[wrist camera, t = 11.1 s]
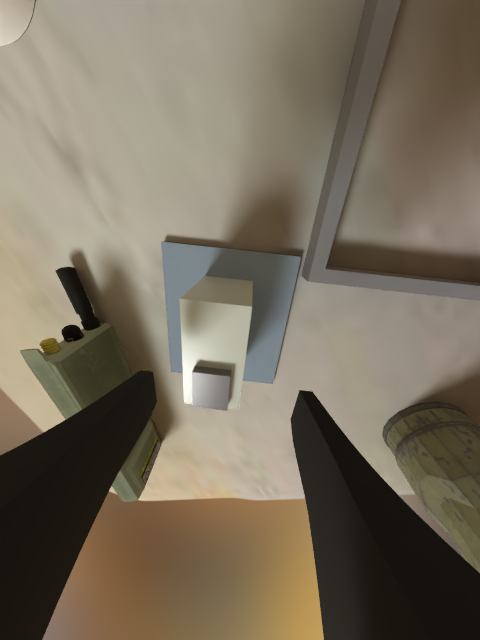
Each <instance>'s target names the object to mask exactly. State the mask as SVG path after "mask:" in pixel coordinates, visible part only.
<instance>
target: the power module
mask: <svg viewBox="0 0 480 640" xmlns="http://www.w3.org/2000/svg"><path fill="white" fill-rule="evenodd" d="M252 295H253V281H248V280H239V279H230V278H221V277H212V276H204V277H203V278H202V279H201V280H200V281H199V282H198V283H196V284H195V285H194V286H193V287H192V288H191V289H190V290H189V291H188V292H186V293H185V294H184V295H183V296H182V297H181V298H180V319H181V342H182V365H183V387H184V403H187V404H193V407H201V408H209V409H217V410H225V411H227V409H236V410H239V405H240V397H241V390H242V382H243V374H244V366H245V359H246V351H247V343H248V336H249V328H250V320H251V312H252Z"/></svg>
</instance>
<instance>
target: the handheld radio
mask: <svg viewBox="0 0 480 640" xmlns="http://www.w3.org/2000/svg"><path fill="white" fill-rule="evenodd" d="M56 273H57V275H58V277H59V279H60V281H61V283H62V285H63V287H64V289H65V291H66V293H67V295H68V297H69V299H70V301H71V303H72V305H73V307H74V309H75V311H76V313H77V314H79V316H80V318H81V320H82V322H81V323H82V325H83V327H84V329H82V330H80V328H79V327H78V326H76V325H68V326H66V327H64V328H63V329H62V335H63V338H64V341H62V342H60V343H58V342H57V341H56V339H54V338H49V339H46V340H43V341H42V342H40V346H42V347H41V348H42V349H43V351H45V352H43V353H42V352H41V351H40V350H39V349H27V350H20V352H21V354H22V356H23V358H24V359H25V361H26V363H27V365H28V366H29V368H30V369H31V370H32V372H33V373H34V375H35V376H36V378H37V379H38V380H39V382H40V383H41V385H42V386H43V388H44V389H45V391H46V392H47V393H48V395H49V396H50V398H51V399H52V401H53V402H54V403H55V405H56V406H57V408H58V409H59V411H60V412H61V413H62V415H63V416H64V418H65V419H68V418H69V417H71V416H73V415H74V414H76V413H77V412H79V411H81V410H82V409H84V408H85V407H87V406H89V405H90V404H92V403H93V402H95V401H96V400H98V399H99V398H101V397H102V396H104V395H105V394H107V393H108V392H110V391H111V390H113V389H114V388H116V387H117V386H119V385H120V384H121V383H123V382H124V381H126V380H127V379H129V378H130V377H132V376H133V375H132V372H131V370H130V368H129V365H128V363H127V361H126V358H125V356H124V353H123V351H122V349H121V346H120V344H119V342H118V339H117V337H116V335H115V332H114V330H113V328H112V326H111V325H110V324H109V323H99V320H98V318H97V317H95V315H94V313H93V308H92V306H91V304H90V301H89V299H88V297H87V294H86V292H85V290H84V288H83V285H82V283H81V281H80V278H79V276H78V274H77V272H76V269H75V268H72V267H64V268H60V269H58V270H56ZM160 447H161V441H160V439H159V437H158V434H157V432H156V429H155V427H154V425H153V422H152V420H151V418H150V419H149V421H148V423H147V425H146V427H145V428H144V430H143V432H142V434H141V435H140V437H139V439H138V440H137V442H136V444H135V446H134V447H133V449H132V451H131V452H130V454H129V456H128V458H127V459H126V461H125V463H124V464H123V466H122V468H121V470H120V471H119V473H118V475H117V477H116V478H115V480H114V482H113V484H112V487H113V488H114V490H115V491H116V492H117V494H118V495H119V497H120V498H121V500H122V501H123V502H128V501H137V500H138V499H139V497H140V495H141V493H142V491H143V490H144V488H145V485H146V483H147V480H148V478H149V475H150V473H151V470H152V468H153V465H154V462H155V460H156V457H157V455H158V452H159V450H160Z"/></svg>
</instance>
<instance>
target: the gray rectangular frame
mask: <svg viewBox="0 0 480 640" xmlns="http://www.w3.org/2000/svg"><path fill="white" fill-rule="evenodd" d="M400 3H401V0H366V3H365V7H364V12H363V16H362V20H361V24H360V29H359V33H358V37H357V41H356V46H355V50H354V54H353V59H352V63H351V67H350V71H349V76H348V80H347V84H346V88H345V93H344V97H343V101H342V106H341V110H340V114H339V118H338V123H337V127H336V131H335V135H334V140H333V144H332V148H331V153H330V157H329V161H328V165H327V170H326V174H325V178H324V182H323V187H322V191H321V195H320V199H319V204H318V208H317V212H316V217H315V221H314V225H313V229H312V234H311V238H310V242H309V246H308V251H307V255H306V259H305V264H304V268H303V272H302V277H304V278H305V279H306V280H307V281H309V282H318V283H327V284H336V285H345V286H354V287H363V288H372V289H381V290H390V291H399V292H408V293H417V294H425V295H434V296H443V297H452V298H461V299H470V300H479V301H480V283H479V282H470V281H461V280H452V279H443V278H433V277H424V276H415V275H406V274H397V273H388V272H379V271H370V270H360V269H351V268H342V267H333V266H326V265H327V261H328V258H329V254H330V251H331V247H332V244H333V240H334V237H335V233H336V230H337V226H338V223H339V219H340V215H341V212H342V208H343V205H344V201H345V198H346V194H347V191H348V187H349V184H350V180H351V177H352V173H353V170H354V166H355V162H356V159H357V155H358V152H359V148H360V145H361V141H362V138H363V134H364V131H365V127H366V124H367V120H368V116H369V113H370V109H371V106H372V102H373V99H374V95H375V92H376V88H377V85H378V81H379V78H380V74H381V71H382V67H383V63H384V60H385V56H386V53H387V49H388V46H389V42H390V39H391V35H392V32H393V28H394V25H395V21H396V17H397V14H398V10H399V7H400Z"/></svg>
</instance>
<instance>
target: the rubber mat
mask: <svg viewBox="0 0 480 640" xmlns="http://www.w3.org/2000/svg"><path fill="white" fill-rule="evenodd" d="M161 244H162V257H163V271H164V284H165V298H166V311H167V325H168V338H169V352H170V365H171V372H178V373H183V365H182V342H181V319H180V298H181V297H182V296H183V295H184V294H185V293H186V292H188V291H189V290H190V289H191V288H192V287H193V286H194V285H195V284H196V283H198V282H199V281H200V280H201V279H202V278H203V277H204V276H212V277H221V278H230V279H239V280H248V281H253V295H252V312H251V320H250V328H249V336H248V343H247V351H246V359H245V366H244V374H243V380H244V381H252V382H260V383H268V384H273V381H274V376H275V372H276V367H277V363H278V358H279V354H280V350H281V345H282V341H283V336H284V332H285V327H286V323H287V318H288V314H289V309H290V305H291V300H292V296H293V291H294V287H295V282H296V278H297V274H298V269H299V265H300V260H301V257H300V256H293V255H284V254H274V253H265V252H256V251H247V250H238V249H228V248H219V247H210V246H201V245H192V244H182V243H173V242H161Z"/></svg>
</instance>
